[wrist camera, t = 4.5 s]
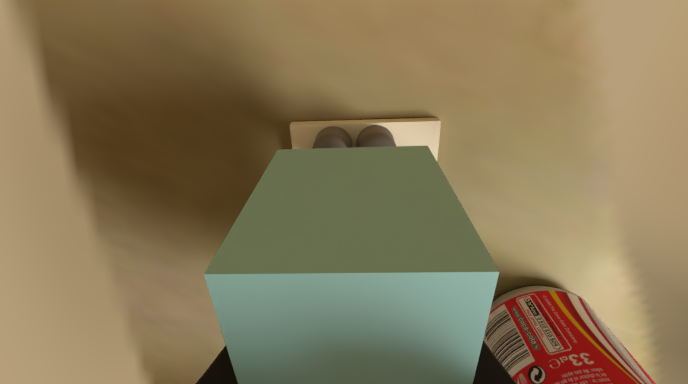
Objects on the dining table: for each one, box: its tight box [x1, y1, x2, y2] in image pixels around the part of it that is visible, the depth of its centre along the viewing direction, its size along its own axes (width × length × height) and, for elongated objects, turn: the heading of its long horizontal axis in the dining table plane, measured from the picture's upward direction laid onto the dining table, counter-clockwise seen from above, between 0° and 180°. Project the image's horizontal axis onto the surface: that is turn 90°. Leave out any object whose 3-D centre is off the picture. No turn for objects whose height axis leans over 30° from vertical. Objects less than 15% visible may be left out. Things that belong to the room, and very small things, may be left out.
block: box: [204, 146, 499, 384], centre depth 10 cm, size 10×5×6 cm, turn 2°
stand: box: [290, 117, 441, 161], centre depth 16 cm, size 8×7×3 cm
